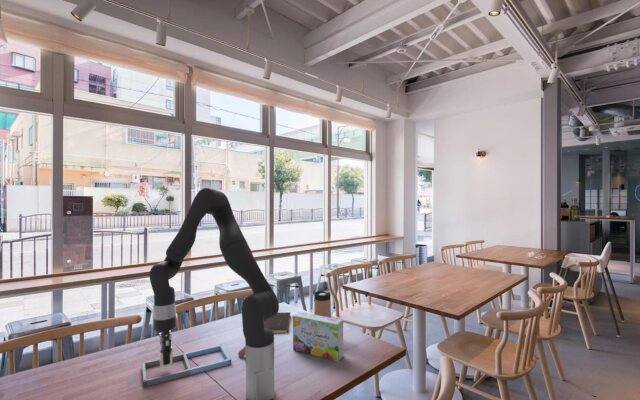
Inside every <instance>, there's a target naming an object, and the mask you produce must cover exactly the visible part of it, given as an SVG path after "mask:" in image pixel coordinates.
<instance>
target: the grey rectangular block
mask: <svg viewBox="0 0 640 400" xmlns="http://www.w3.org/2000/svg"><path fill="white" fill-rule="evenodd" d="M158 350H159V351H158V352H159V353H158V354H159V358H158V359H160V365H159V367H160V368H164V367H168V366H171V365H173V362H172V356H173V346H172V345H171V354H170V364H167V365H163V354H162V353H163V349H162V348H161V345H160V346H158ZM165 351H168V350H165Z"/></svg>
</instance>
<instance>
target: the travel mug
mask: <svg viewBox="0 0 640 400" xmlns="http://www.w3.org/2000/svg"><path fill="white" fill-rule="evenodd" d="M313 294H314V295H313V296H314V297H313V301H314V302H313V305H314V306H313V307H314V308H313V309H314V310H313V311H314V315H319V316H324V317H329V318H332V308H331V307H332V303H331V301H332V299H331V298H332V297H331V292H330V291H328V292H326V291H325V290H319V291H315V292H314V293H313Z"/></svg>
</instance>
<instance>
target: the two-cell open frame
mask: <svg viewBox="0 0 640 400" xmlns="http://www.w3.org/2000/svg"><path fill="white" fill-rule="evenodd" d="M215 352H220V353H221V354H222V356H223V358H224V360H218V361H215V362H210V363H207V364H203V365H199V366H194V367H192V366H191V364H190V361H189V359H188V358H193V357H197V356H203V355H207V354H211V353H215ZM180 360H183V362H184V365H185V368H186V369H183V370H180V371H179V370H178V371H175V372H171V373H167V374H163V375H160V376H155V377H151V378H147V370H146V368H151V367H156V366H160V359H159V358H158V359H154V360H148V361H144V362H141V370H142V383H143V384H142V385H143V388H145V387H149V386H154V385H156V384H159V383H164V382H168V381H172V380H175V379H180V378H182V377H187V376H191V375H195V374H200V373H202V372H207V371H211V370H214V369H218V368H221V367H226V366H229V365H232V359H231V357H230V355H229V354H228V352H227V350H226V349H225V347H224V346H223V344H218V345H214V346H210V347H206V348H205V347H204V348H201V349H196V350H192V351H189V352H188V351H187V352H183V353H180V354H176V355H175V354H174V355H172V363H173V362H177V361H180Z"/></svg>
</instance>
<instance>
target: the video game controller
mask: <svg viewBox="0 0 640 400" xmlns="http://www.w3.org/2000/svg"><path fill="white" fill-rule="evenodd" d="M237 355H238V357H240V358H243V357H246V346H244V347H243V348H242V349H240V350H239V351H238V354H237Z"/></svg>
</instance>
